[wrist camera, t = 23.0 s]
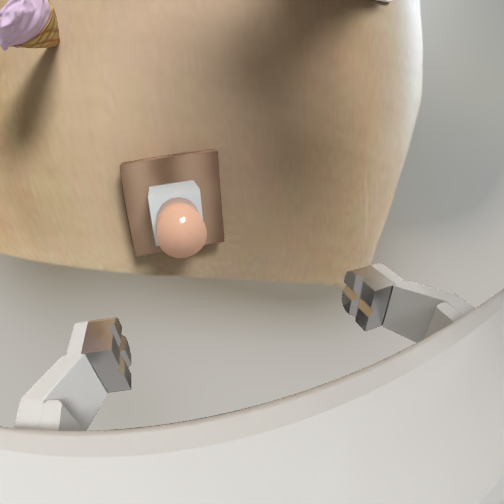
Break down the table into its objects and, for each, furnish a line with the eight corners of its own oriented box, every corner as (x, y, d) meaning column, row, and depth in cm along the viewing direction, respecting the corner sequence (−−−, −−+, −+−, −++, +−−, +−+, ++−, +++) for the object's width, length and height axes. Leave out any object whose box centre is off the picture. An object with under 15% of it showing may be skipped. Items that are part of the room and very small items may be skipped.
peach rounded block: (196, 194, 29) (204, 206, 25) (201, 234, 31) (209, 253, 27) (153, 201, 28) (152, 215, 24) (160, 242, 30) (161, 262, 26)
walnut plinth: (213, 149, 36) (217, 151, 34) (219, 233, 41) (224, 241, 39) (122, 162, 33) (119, 165, 30) (137, 247, 38) (136, 256, 36)
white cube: (193, 180, 34) (199, 189, 29) (197, 222, 36) (204, 237, 32) (149, 186, 33) (147, 197, 28) (155, 229, 35) (156, 246, 30)
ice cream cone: (52, 73, 24) (0, 51, 11) (24, 57, 21) (-31, 33, 8) (83, 33, 23) (49, -11, 10) (55, 17, 20) (14, -25, 7)
